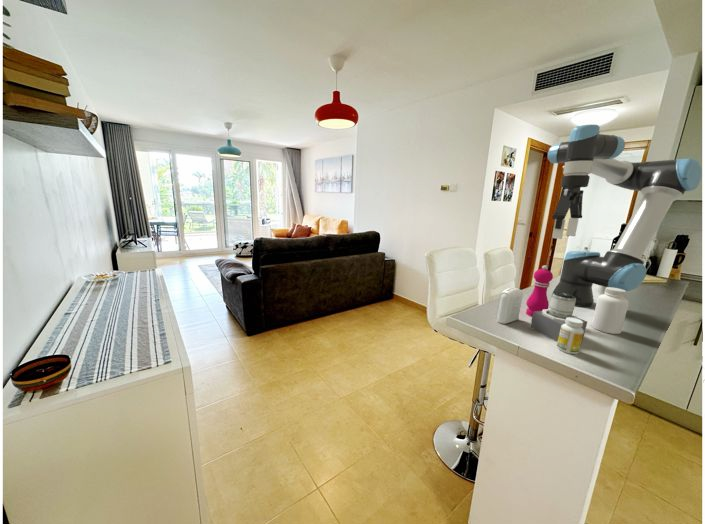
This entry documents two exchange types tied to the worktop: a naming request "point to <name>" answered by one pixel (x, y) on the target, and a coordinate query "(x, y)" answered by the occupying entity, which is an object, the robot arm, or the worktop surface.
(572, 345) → the supplement bottle
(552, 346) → the worktop surface
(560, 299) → the camera lens
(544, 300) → the pepper mill
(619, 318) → the pill bottle
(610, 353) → the worktop surface
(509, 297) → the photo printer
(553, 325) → the grey block with ring
